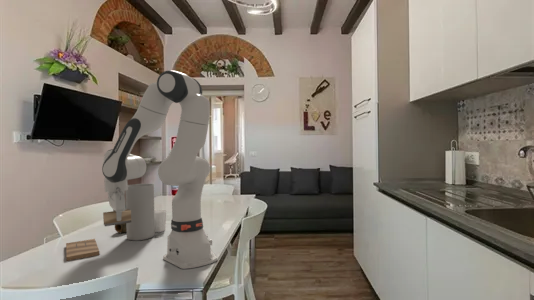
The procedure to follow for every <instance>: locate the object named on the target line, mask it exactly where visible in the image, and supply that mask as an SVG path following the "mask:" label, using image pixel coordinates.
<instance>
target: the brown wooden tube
mask: <svg viewBox="0 0 534 300" xmlns="http://www.w3.org/2000/svg"><path fill="white" fill-rule="evenodd" d="M114 230H115V231H116V232H117V233H118V234H123V233H127V228H126V223H124V224H118V225H114Z"/></svg>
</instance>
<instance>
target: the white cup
mask: <svg viewBox="0 0 534 300" xmlns="http://www.w3.org/2000/svg"><path fill="white" fill-rule="evenodd" d="M154 218H155V233H162V232H164V231H166V227H167V226H166V224H167V223H166V222H167V210H165V209H154Z"/></svg>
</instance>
